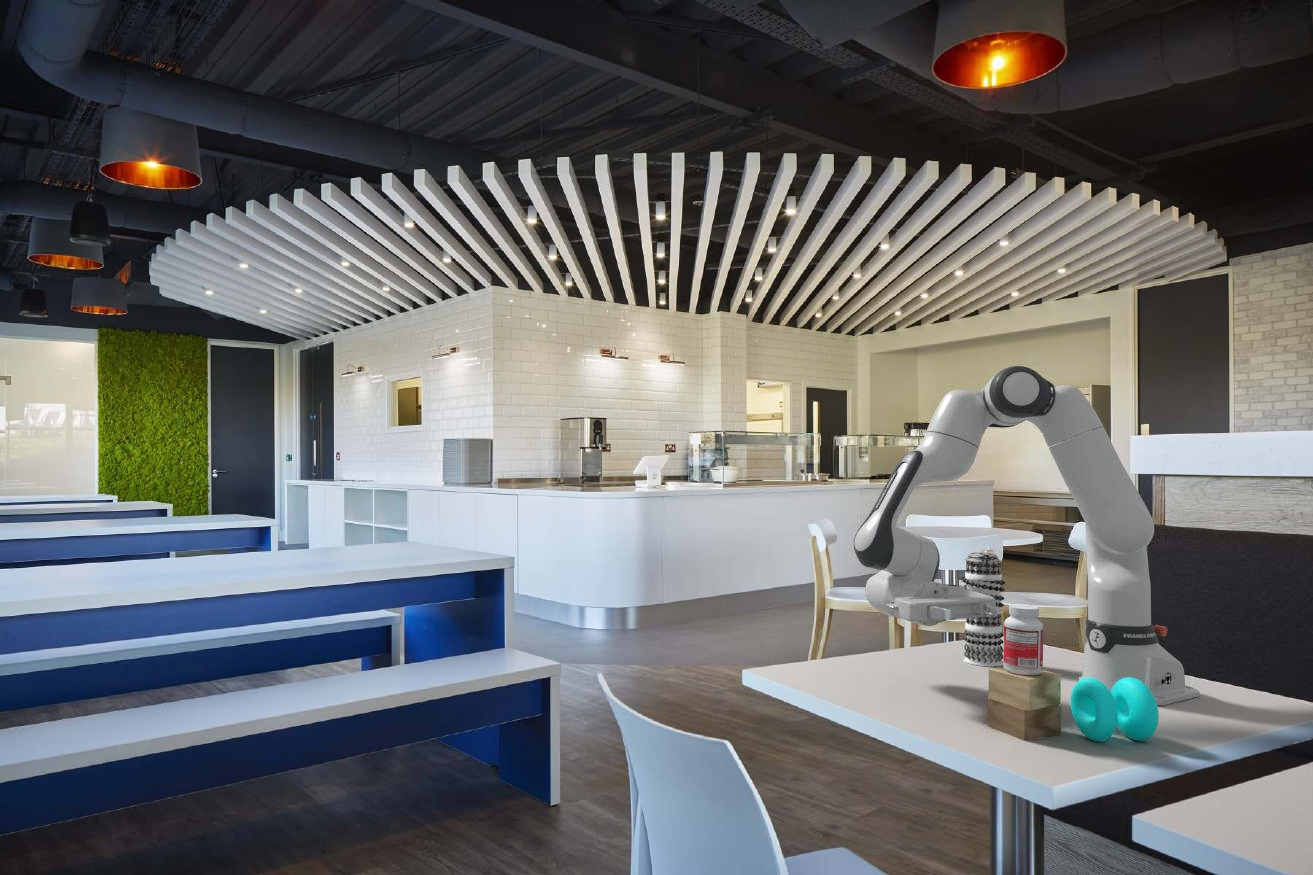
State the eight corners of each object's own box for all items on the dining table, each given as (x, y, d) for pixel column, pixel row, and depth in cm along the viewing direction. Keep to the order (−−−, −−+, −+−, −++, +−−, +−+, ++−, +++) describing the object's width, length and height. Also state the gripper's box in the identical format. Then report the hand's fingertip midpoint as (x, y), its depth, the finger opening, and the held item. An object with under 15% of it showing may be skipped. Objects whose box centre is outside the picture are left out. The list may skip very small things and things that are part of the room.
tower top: (1019, 692, 147) (1019, 664, 147) (1060, 704, 140) (1060, 674, 140) (988, 698, 143) (988, 669, 143) (1029, 710, 136) (1029, 679, 136)
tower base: (1023, 722, 146) (1023, 693, 146) (1061, 735, 139) (1060, 705, 139) (988, 726, 143) (988, 697, 143) (1024, 741, 136) (1024, 710, 136)
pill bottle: (1019, 665, 145) (1021, 601, 146) (1050, 673, 140) (1052, 608, 140) (995, 668, 143) (996, 604, 143) (1025, 677, 137) (1027, 610, 137)
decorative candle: (984, 668, 185) (984, 556, 186) (953, 659, 194) (953, 552, 195) (1014, 665, 189) (1013, 554, 190) (982, 656, 198) (982, 551, 199)
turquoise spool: (1163, 749, 133) (1162, 685, 133) (1103, 749, 132) (1103, 686, 132) (1123, 729, 143) (1122, 670, 143) (1067, 730, 142) (1067, 671, 142)
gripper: (881, 588, 162) (927, 599, 149) (965, 584, 169) (1016, 594, 156) (881, 621, 162) (927, 634, 149) (965, 615, 169) (1017, 628, 156)
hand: (974, 614), depth 153 cm, fingers open, 8 cm apart
